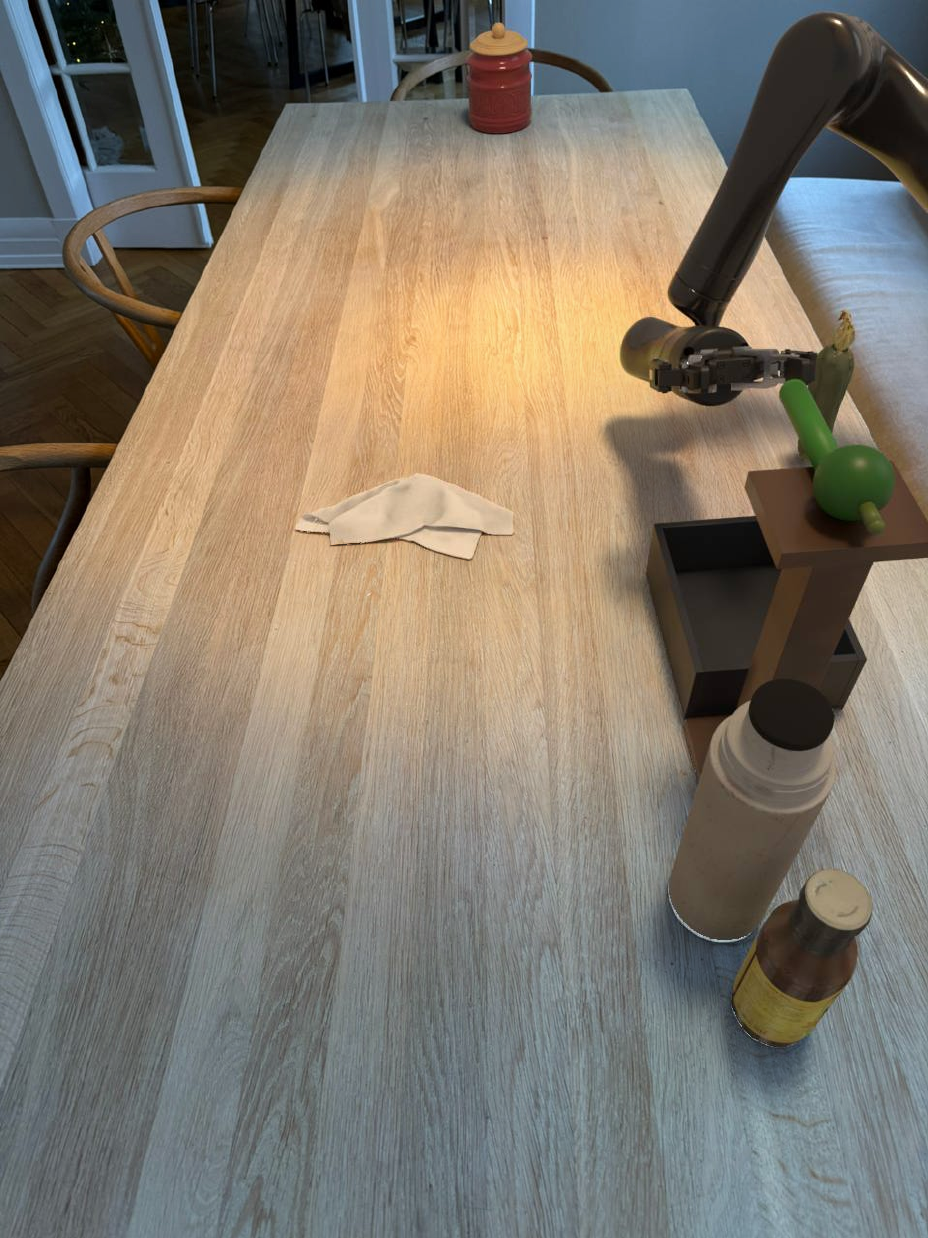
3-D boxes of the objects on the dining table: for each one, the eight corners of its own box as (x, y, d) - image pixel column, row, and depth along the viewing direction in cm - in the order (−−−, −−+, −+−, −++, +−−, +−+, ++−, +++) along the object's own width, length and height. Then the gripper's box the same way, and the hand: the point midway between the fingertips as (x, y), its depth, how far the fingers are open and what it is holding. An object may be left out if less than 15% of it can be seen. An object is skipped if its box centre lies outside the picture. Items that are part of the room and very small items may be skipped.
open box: (784, 563, 98) (801, 511, 92) (843, 708, 86) (867, 659, 80) (645, 574, 98) (653, 523, 92) (683, 720, 86) (695, 672, 80)
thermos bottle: (700, 835, 78) (766, 635, 56) (782, 891, 74) (886, 700, 53) (648, 901, 74) (699, 714, 53) (732, 964, 70) (823, 791, 49)
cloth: (525, 488, 109) (525, 474, 107) (504, 568, 100) (504, 554, 98) (325, 466, 113) (322, 452, 111) (289, 540, 105) (285, 526, 103)
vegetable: (823, 475, 107) (873, 328, 92) (786, 472, 108) (830, 326, 93) (819, 451, 110) (867, 305, 95) (783, 449, 111) (825, 303, 96)
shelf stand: (786, 718, 85) (892, 459, 61) (812, 792, 80) (939, 541, 56) (683, 726, 85) (748, 470, 61) (702, 800, 80) (782, 553, 56)
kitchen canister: (502, 104, 188) (501, 7, 174) (544, 120, 181) (546, 21, 168) (456, 122, 183) (450, 24, 169) (497, 140, 176) (495, 39, 162)
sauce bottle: (814, 1057, 66) (903, 965, 51) (729, 1044, 67) (790, 950, 52) (807, 970, 70) (886, 861, 55) (726, 959, 71) (782, 848, 56)
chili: (818, 393, 66) (835, 336, 62) (905, 556, 55) (932, 499, 51) (754, 398, 66) (768, 342, 62) (828, 562, 55) (850, 505, 51)
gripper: (632, 330, 88) (672, 336, 73) (774, 320, 88) (843, 323, 73) (633, 407, 91) (671, 427, 76) (770, 396, 91) (836, 415, 76)
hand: (755, 376), depth 74 cm, fingers open, 8 cm apart
